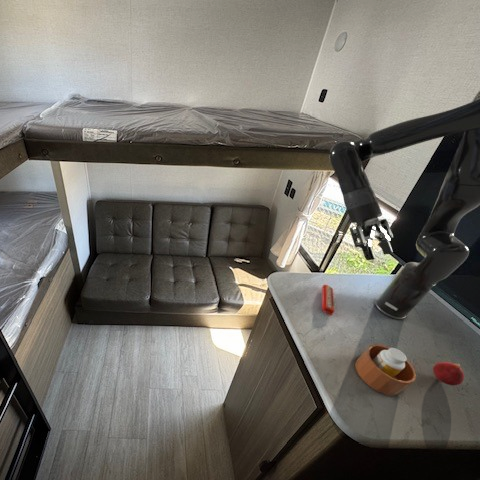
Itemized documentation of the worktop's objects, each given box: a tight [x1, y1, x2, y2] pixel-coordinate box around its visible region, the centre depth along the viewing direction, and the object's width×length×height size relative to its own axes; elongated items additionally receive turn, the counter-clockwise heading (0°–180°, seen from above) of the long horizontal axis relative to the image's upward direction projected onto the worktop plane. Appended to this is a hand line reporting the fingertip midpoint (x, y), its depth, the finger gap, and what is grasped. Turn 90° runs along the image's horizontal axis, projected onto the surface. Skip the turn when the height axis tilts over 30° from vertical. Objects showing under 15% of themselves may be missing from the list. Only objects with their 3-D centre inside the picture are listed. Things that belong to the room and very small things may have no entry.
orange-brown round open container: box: [354, 343, 417, 396], centre depth 72 cm, size 11×11×7 cm
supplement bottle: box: [372, 347, 408, 378], centre depth 71 cm, size 6×6×10 cm
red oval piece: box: [432, 361, 465, 386], centre depth 72 cm, size 6×6×8 cm
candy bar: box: [321, 284, 335, 316], centre depth 97 cm, size 16×4×3 cm, turn 152°
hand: (380, 256), depth 74 cm, fingers open, 8 cm apart
